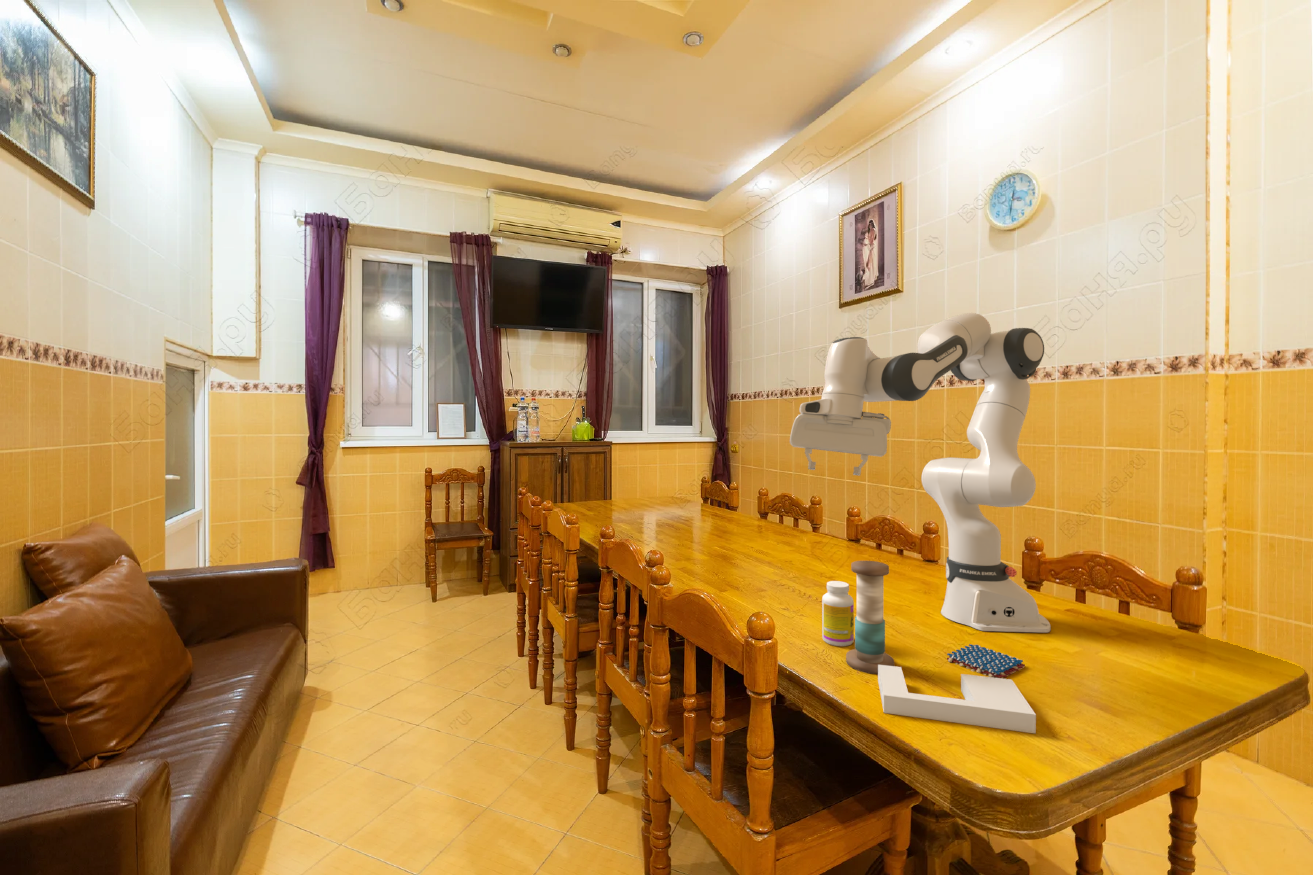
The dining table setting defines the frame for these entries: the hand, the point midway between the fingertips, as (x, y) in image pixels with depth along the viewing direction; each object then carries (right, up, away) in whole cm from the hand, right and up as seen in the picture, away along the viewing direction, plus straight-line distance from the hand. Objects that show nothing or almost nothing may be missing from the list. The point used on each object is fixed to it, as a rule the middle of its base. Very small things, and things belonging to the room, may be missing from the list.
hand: (833, 472), depth 121 cm
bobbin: (+4, -38, -10) cm, 39 cm away
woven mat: (+27, -38, -10) cm, 48 cm away
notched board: (+12, -38, -25) cm, 48 cm away
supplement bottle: (+2, -38, +2) cm, 38 cm away
